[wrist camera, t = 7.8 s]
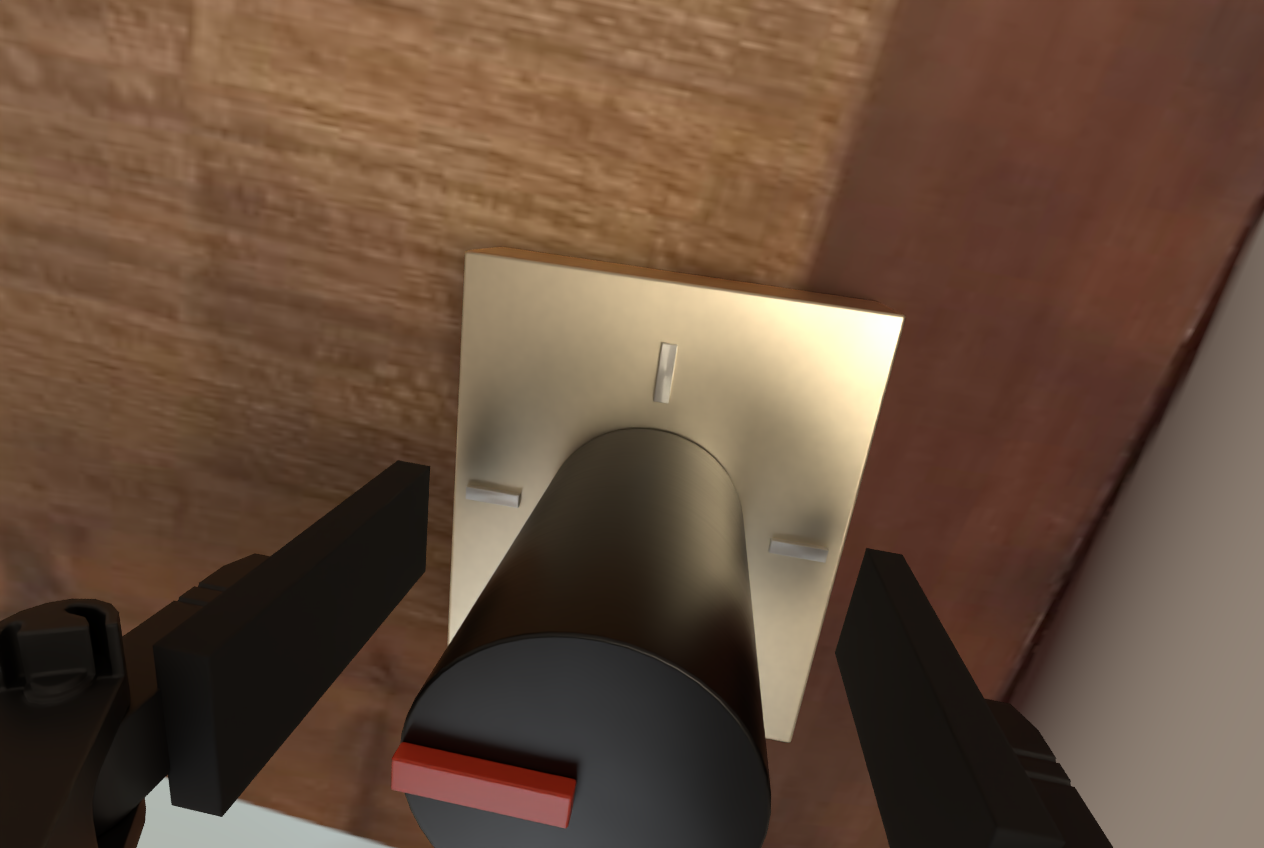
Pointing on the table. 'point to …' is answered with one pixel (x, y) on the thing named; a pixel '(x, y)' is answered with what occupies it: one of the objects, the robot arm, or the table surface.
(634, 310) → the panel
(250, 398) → the table surface
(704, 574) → the knob
